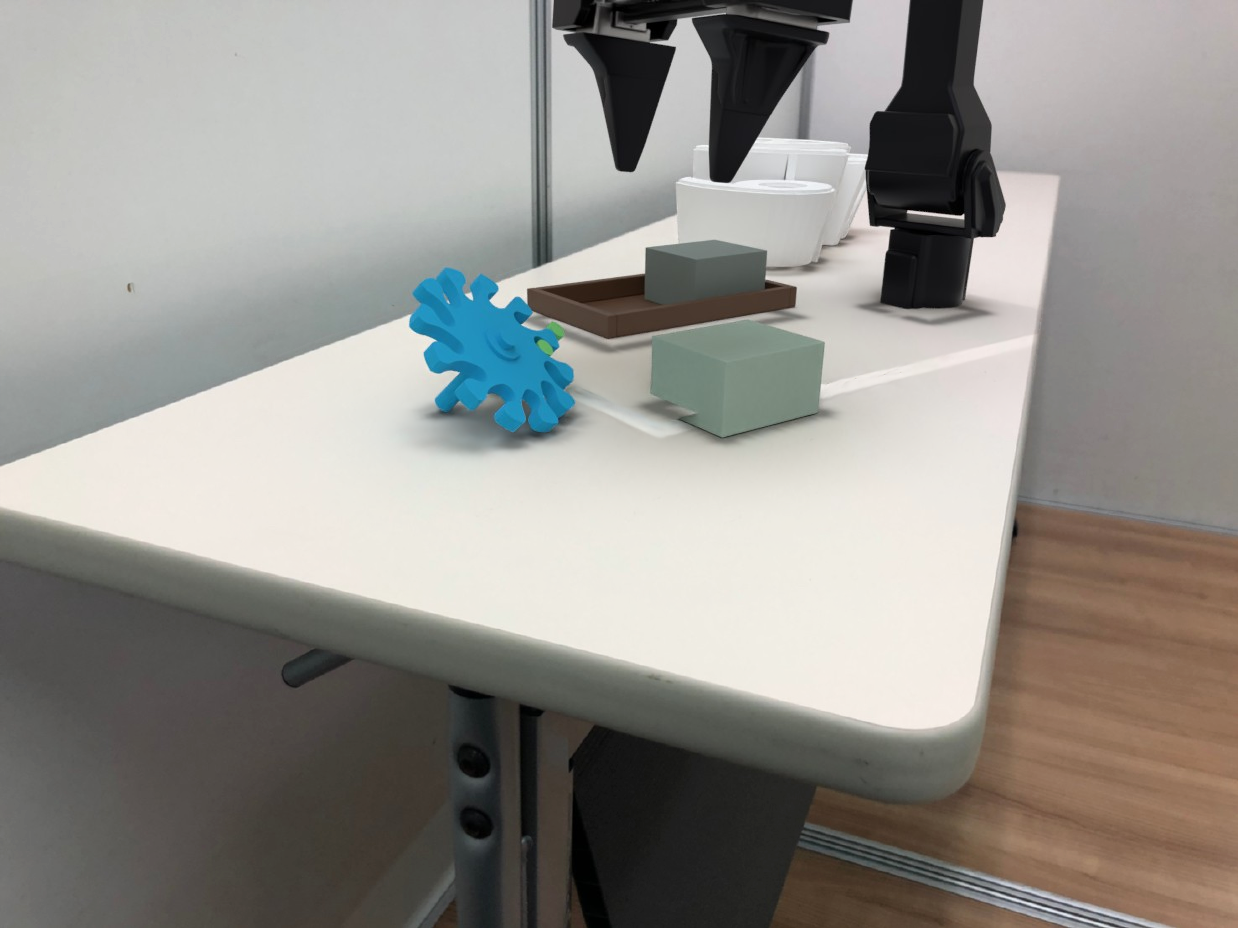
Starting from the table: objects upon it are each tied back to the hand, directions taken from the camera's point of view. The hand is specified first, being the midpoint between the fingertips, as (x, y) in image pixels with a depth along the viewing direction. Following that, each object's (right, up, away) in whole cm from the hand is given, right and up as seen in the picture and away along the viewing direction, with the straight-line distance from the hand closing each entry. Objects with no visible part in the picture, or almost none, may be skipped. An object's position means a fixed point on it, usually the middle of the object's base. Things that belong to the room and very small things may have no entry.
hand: (669, 176), depth 51 cm
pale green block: (+4, -12, +2) cm, 13 cm away
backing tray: (+1, -4, +22) cm, 22 cm away
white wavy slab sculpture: (+14, +7, +51) cm, 53 cm away
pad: (+4, -3, +24) cm, 24 cm away
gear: (-9, -13, 0) cm, 16 cm away
